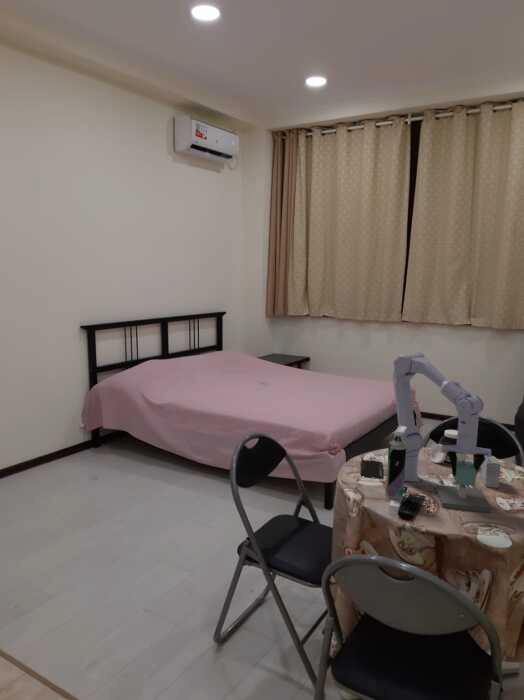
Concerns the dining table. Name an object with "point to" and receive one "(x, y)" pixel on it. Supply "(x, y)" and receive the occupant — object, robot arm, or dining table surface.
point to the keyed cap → (465, 473)
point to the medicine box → (490, 472)
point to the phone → (371, 469)
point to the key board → (462, 498)
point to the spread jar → (448, 439)
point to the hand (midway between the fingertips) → (463, 475)
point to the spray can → (395, 468)
